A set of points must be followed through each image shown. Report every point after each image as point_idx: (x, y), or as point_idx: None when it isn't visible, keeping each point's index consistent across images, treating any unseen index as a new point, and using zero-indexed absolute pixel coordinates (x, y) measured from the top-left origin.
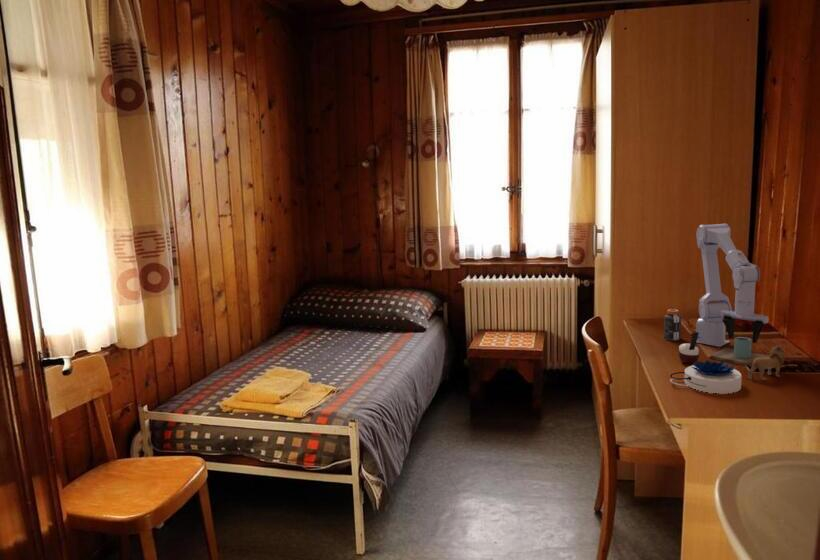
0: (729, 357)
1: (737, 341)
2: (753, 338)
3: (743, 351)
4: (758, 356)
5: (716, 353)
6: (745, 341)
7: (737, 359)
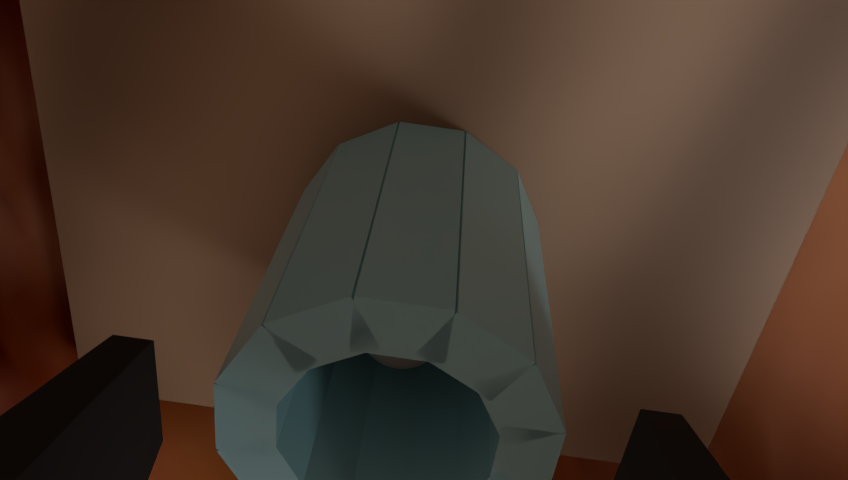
0: (570, 68)
1: (460, 294)
2: (70, 397)
3: (351, 187)
4: (235, 315)
5: (804, 177)
6: (280, 318)
7: (426, 24)
